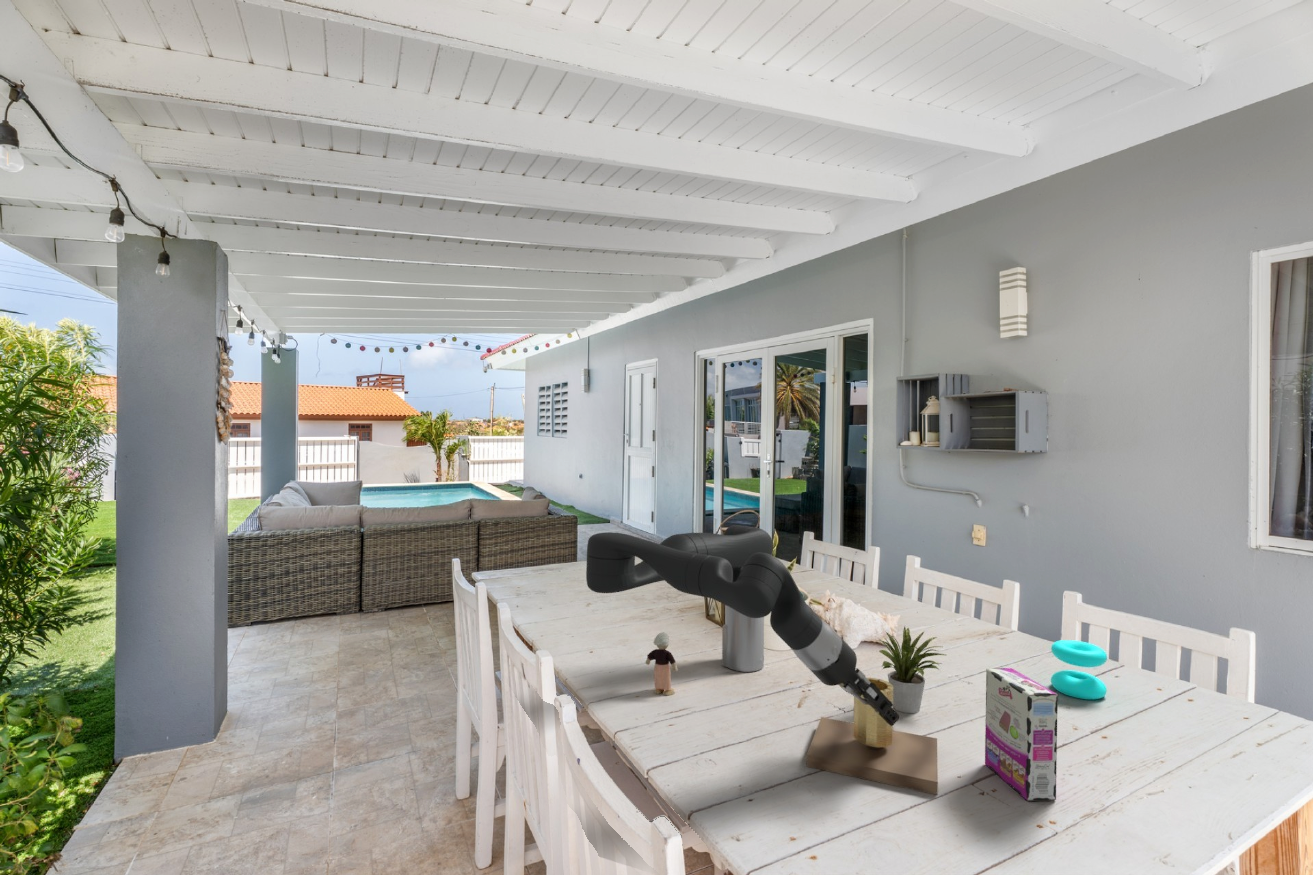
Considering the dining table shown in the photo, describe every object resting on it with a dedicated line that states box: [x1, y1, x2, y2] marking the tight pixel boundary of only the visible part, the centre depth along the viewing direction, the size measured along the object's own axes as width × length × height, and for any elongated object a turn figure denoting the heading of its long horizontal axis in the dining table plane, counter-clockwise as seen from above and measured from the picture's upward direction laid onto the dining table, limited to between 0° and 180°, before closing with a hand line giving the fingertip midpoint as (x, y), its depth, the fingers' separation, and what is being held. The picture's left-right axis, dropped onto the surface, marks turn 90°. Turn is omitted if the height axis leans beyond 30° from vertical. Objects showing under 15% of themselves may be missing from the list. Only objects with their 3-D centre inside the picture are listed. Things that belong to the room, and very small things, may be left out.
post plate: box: [806, 716, 939, 796], centre depth 108 cm, size 20×15×9 cm
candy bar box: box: [984, 667, 1059, 802], centre depth 101 cm, size 11×5×16 cm, turn 5°
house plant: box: [874, 626, 946, 714], centre depth 126 cm, size 14×14×16 cm
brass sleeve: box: [853, 677, 894, 747], centre depth 108 cm, size 6×6×9 cm
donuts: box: [1050, 639, 1108, 700], centre depth 135 cm, size 10×10×10 cm
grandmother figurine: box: [645, 632, 678, 696], centre depth 135 cm, size 8×4×13 cm, turn 71°
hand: (881, 711), depth 108 cm, fingers closed on brass sleeve, 6 cm apart
